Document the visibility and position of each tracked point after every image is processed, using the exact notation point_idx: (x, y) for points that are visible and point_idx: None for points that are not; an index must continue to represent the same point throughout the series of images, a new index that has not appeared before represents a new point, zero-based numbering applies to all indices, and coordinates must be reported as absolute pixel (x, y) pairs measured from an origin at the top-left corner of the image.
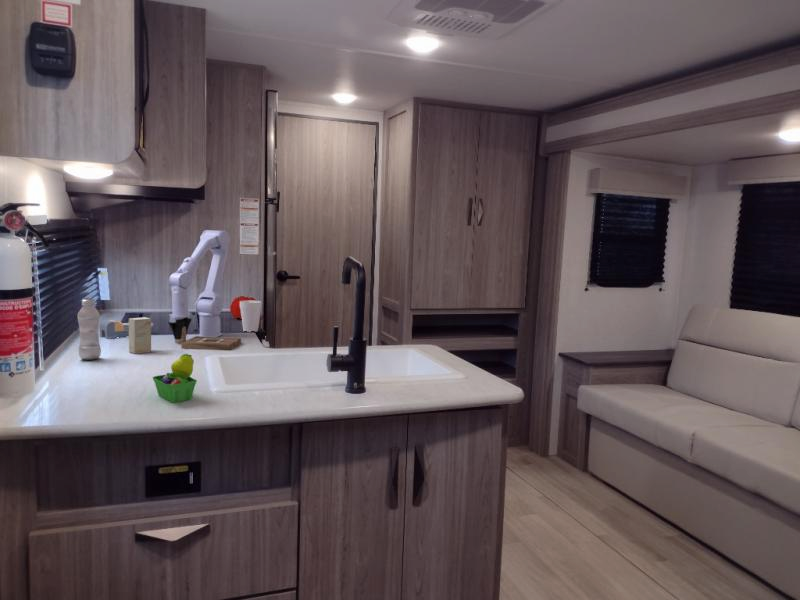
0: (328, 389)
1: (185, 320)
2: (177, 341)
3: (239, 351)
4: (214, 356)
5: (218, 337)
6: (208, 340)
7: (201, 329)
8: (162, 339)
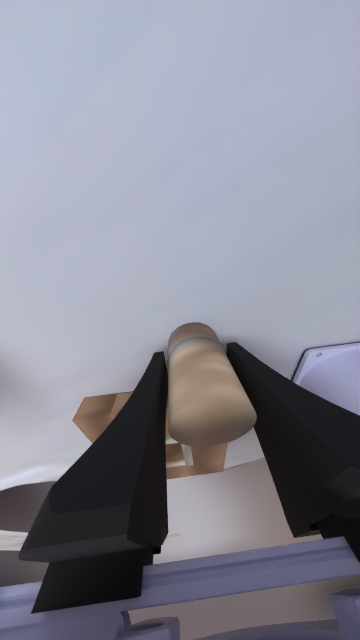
0: (18, 539)
1: (298, 507)
2: (168, 348)
3: None
4: (58, 471)
5: (222, 445)
6: None
7: (344, 395)
8: (260, 198)
